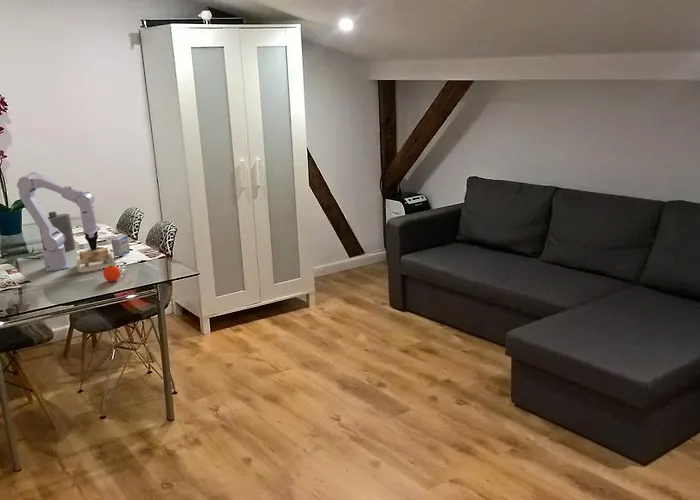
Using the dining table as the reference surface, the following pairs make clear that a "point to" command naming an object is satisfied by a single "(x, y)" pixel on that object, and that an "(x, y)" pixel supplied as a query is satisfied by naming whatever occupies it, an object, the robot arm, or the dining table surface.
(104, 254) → the wooden block
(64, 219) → the flask
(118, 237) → the medicine box
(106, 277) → the clementine
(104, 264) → the peg frame
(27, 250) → the dining table surface
